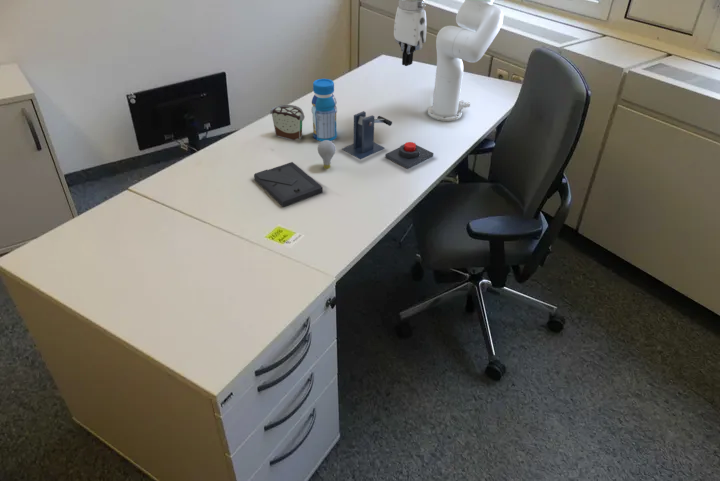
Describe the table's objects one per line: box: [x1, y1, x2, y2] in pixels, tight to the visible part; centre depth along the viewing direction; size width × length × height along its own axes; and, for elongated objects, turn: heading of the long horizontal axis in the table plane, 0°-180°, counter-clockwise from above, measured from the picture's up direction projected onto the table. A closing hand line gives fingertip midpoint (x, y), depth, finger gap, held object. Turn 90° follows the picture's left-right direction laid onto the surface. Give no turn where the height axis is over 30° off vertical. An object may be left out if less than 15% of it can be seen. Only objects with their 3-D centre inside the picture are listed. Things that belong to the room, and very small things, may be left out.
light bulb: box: [317, 140, 337, 170], centre depth 167 cm, size 5×5×10 cm
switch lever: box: [358, 115, 393, 127], centre depth 176 cm, size 12×6×2 cm, turn 134°
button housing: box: [384, 143, 434, 170], centre depth 175 cm, size 12×10×4 cm
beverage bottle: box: [311, 78, 338, 142], centre depth 181 cm, size 8×8×20 cm
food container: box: [269, 104, 305, 141], centre depth 185 cm, size 12×6×10 cm, turn 65°
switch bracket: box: [341, 110, 385, 160], centre depth 176 cm, size 11×9×13 cm
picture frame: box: [253, 161, 324, 208], centre depth 162 cm, size 13×2×18 cm
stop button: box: [404, 141, 417, 152], centre depth 173 cm, size 4×4×2 cm
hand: (407, 64), depth 174 cm, fingers closed
